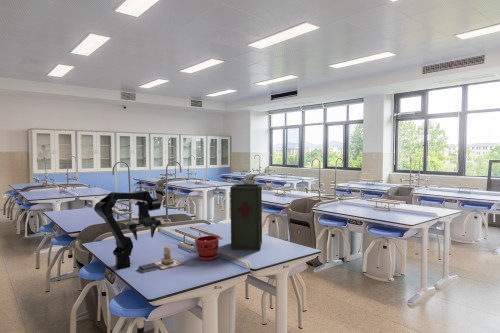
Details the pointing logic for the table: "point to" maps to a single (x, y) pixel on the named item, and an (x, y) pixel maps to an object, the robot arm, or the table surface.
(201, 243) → the plant pot
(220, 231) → the table surface
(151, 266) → the dark grey flat block
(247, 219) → the first aid box
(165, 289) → the table surface
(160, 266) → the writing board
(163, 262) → the stamp
